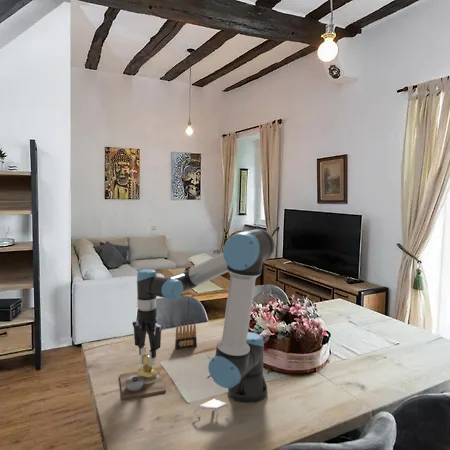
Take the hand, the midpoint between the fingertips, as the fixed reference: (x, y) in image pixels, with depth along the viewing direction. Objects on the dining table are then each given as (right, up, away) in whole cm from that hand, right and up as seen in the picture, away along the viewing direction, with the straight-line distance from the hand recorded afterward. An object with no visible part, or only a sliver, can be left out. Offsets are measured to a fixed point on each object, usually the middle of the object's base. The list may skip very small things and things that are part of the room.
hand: (147, 363), depth 148 cm
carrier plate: (-2, -7, -2) cm, 8 cm away
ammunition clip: (+12, -4, +32) cm, 35 cm away
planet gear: (0, -5, 0) cm, 5 cm away
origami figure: (+27, -10, -23) cm, 36 cm away
